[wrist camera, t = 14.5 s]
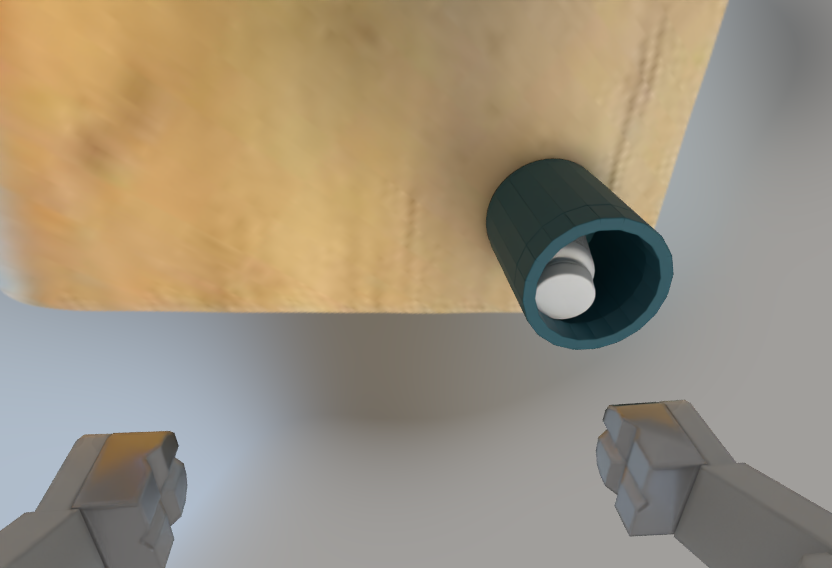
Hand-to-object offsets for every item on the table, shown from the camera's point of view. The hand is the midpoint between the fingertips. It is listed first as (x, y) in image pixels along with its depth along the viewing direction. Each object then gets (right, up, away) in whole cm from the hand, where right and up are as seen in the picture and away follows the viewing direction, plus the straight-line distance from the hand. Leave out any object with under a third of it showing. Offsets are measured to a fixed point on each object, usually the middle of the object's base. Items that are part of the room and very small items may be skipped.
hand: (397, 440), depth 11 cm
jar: (+10, +8, +32) cm, 35 cm away
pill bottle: (+10, +8, +32) cm, 34 cm away
